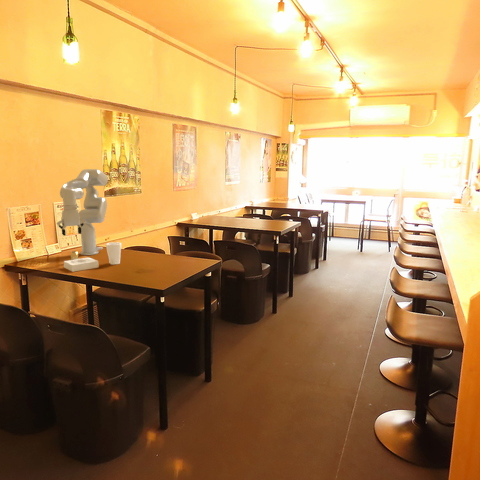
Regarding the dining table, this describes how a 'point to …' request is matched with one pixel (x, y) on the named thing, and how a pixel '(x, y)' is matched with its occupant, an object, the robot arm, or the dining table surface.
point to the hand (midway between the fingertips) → (72, 234)
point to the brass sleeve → (74, 255)
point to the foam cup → (114, 252)
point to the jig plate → (81, 264)
